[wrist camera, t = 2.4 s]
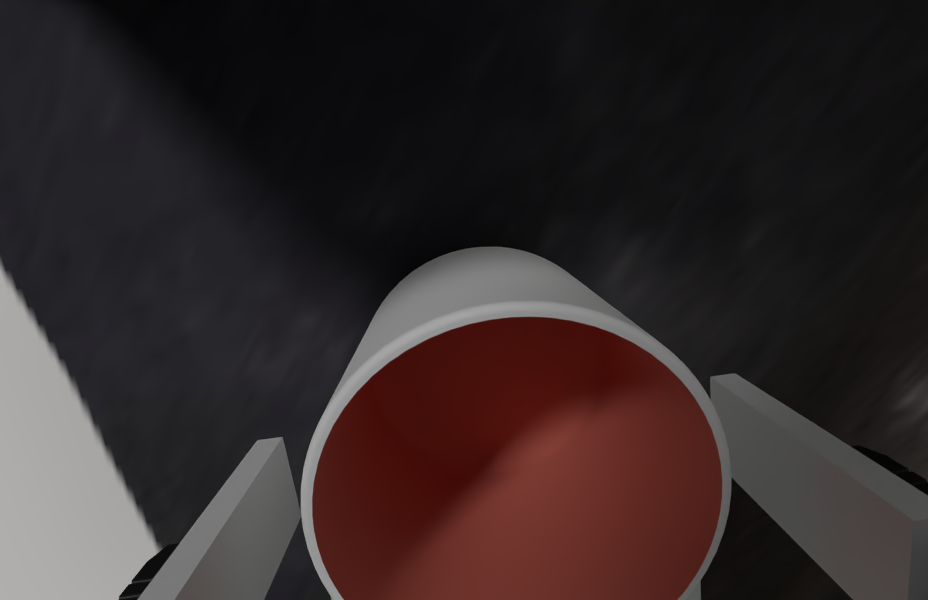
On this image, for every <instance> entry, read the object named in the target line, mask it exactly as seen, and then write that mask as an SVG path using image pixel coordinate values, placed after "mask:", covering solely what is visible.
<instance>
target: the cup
mask: <svg viewBox="0 0 928 600" xmlns="http://www.w3.org/2000/svg"><path fill="white" fill-rule="evenodd" d="M731 475H732V474H731V464H730V455H729V449H728V445H727V440H726V436H725V433H724V430H723V427H722V424H721V421H720V419H719V417H718V414H717V412H716V410H715V408H714V405H713V404H712V402H711V400H710V398H709V397H708V395H707V393H706V391H705V390H704V388H703V387H702V386H701V384H700V383H699V381H698V380H697V379H696V377H695V376H694V375H693V373H692V372H691V371H690V370H689V369H688V368H687V367H686V365H685V364H684V363H683V362H682V361H681V360H680V359H679V358H678V357H677V356H676V355H674V354H673V353H672V352H671V351H670V350H669V349H667V348H666V347H665V346H664V345H662V344H661V343H660V342H659V341H657V340H656V339H655V338H653V337H652V336H651V335H649V334H648V333H647V332H645V331H644V330H643V329H641V328H640V327H639V326H638V325H636V324H635V323H634V322H632V321H631V320H630V319H628V318H627V317H626V316H624V315H623V314H622V313H620V312H619V311H618V310H616V309H615V308H614V307H612V306H611V305H610V304H608V303H607V302H606V301H605V300H603V299H602V298H601V297H599V296H598V295H597V294H595V293H594V292H593V291H591V290H590V289H589V288H587V287H586V286H585V285H583V284H582V283H581V282H580V281H578V280H577V279H576V278H574V277H573V276H572V275H570V274H569V273H568V272H566V271H565V270H564V269H562V268H561V267H559V266H557V265H556V264H554V263H552V262H550V261H548V260H546V259H544V258H542V257H540V256H537V255H535V254H532V253H529V252H526V251H522V250H518V249H513V248H506V247H475V248H467V249H463V250H458V251H454V252H451V253H448V254H445V255H442V256H439V257H437V258H435V259H433V260H431V261H429V262H427V263H425V264H423V265H422V266H420V267H419V268H417V269H416V270H414V271H412V272H411V273H410V274H409V275H408V276H406V277H405V278H404V279H403V280H401V281H400V282H399V283H398V284H397V286H396V287H395V288H394V289H393V290H392V291H391V292H390V293H389V294H388V296H387V297H386V298H385V300H384V301H383V302H382V304H381V305H380V307H379V309H378V310H377V312H376V314H375V315H374V317H373V319H372V321H371V323H370V325H369V327H368V329H367V331H366V333H365V335H364V337H363V338H362V340H361V342H360V344H359V346H358V348H357V350H356V352H355V354H354V356H353V358H352V360H351V362H350V363H349V365H348V367H347V369H346V371H345V373H344V375H343V377H342V379H341V381H340V383H339V385H338V386H337V388H336V390H335V392H334V394H333V396H332V398H331V400H330V402H329V404H328V406H327V408H326V410H325V411H324V413H323V415H322V417H321V419H320V421H319V424H318V426H317V428H316V430H315V432H314V435H313V437H312V440H311V443H310V446H309V449H308V452H307V456H306V460H305V464H304V469H303V476H302V484H301V515H302V524H303V531H304V535H305V539H306V543H307V547H308V550H309V553H310V556H311V558H312V561H313V564H314V567H315V569H316V571H317V573H318V575H319V577H320V579H321V581H322V583H323V584H324V586H325V587H326V589H327V591H328V592H329V594H330V595H331V597H332V598H333V599H334V600H686V599H687V598H688V596H689V595H690V594H691V593H692V592H693V590H694V589H695V588H696V586H697V585H698V583H699V582H700V580H701V579H702V577H703V576H704V574H705V573H706V571H707V569H708V567H709V565H710V563H711V562H712V560H713V558H714V556H715V554H716V552H717V549H718V546H719V544H720V541H721V538H722V536H723V533H724V530H725V526H726V522H727V517H728V513H729V507H730V499H731Z"/></svg>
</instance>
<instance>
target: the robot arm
mask: <svg viewBox="0 0 928 600" xmlns="http://www.w3.org/2000/svg"><path fill="white" fill-rule="evenodd" d="M710 395H711V402H712V404H713V405H714V408H715V410H716V412H717V414H718V417H719V419H720V421H721V424H722V427H723V430H724V433H725V436H726V440H727V445H728V449H729V455H730V464H731V474H732V475H731V477H732V478H733V479H734V480H735V481H736V482H737V483H738V484H739V485H740V486H741V487H742V488H743V489H744V490H745V491H746V492H747V493H748V494H749V495H750V496H751V497H752V498H753V499H754V500H755V501H756V502H757V503H758V505H759V506H760V507H761V508H762V509H763V510H764V511H765V512H766V513H767V514H768V515H769V516H770V517H771V518H772V519H773V520H774V521H775V522H776V523H777V524H778V525H779V526H780V527H781V528H782V529H783V530H784V531H785V532H786V533H787V534H788V535H789V536H790V537H791V538H792V539H793V540H794V541H795V542H796V543H797V544H798V545H799V546H800V547H801V548H802V549H803V550H804V551H805V552H806V553H807V554H808V555H809V556H810V557H811V558H812V559H813V560H814V561H815V562H816V563H817V564H818V565H819V566H820V567H821V568H822V569H823V570H824V571H825V572H826V573H827V574H828V575H829V576H830V577H831V578H832V579H833V580H834V581H835V582H836V583H837V584H838V585H839V586H840V587H841V588H842V589H843V590H844V591H845V592H846V593H847V594H848V595H849V596H850V597H851V598H852V599H853V600H928V483H927V481H926V479H924V478H922V477H921V476H919V475H917V474H916V473H914V472H909V470H908V469H907V468H906V467H904V466H902V465H901V464H899V463H898V462H896V461H894V460H893V459H891V458H889V457H888V456H886V455H883V454H880V453H878V452H875V451H872V450H870V449H867V448H864V447H862V446H852V447H850V446H849V445H847V444H846V443H844V442H843V441H841V440H839V439H838V438H836V437H835V436H833V435H832V434H830V433H828V432H827V431H825V430H824V429H822V428H820V427H819V426H817V425H816V424H814V423H813V422H811V421H809V420H808V419H806V418H805V417H803V416H802V415H800V414H798V413H797V412H795V411H794V410H792V409H791V408H789V407H787V406H786V405H784V404H783V403H781V402H780V401H778V400H776V399H775V398H773V397H772V396H770V395H768V394H767V393H765V392H764V391H762V390H761V389H759V388H757V387H756V386H754V385H753V384H751V383H750V382H748V381H746V380H745V379H743V378H742V377H740V376H739V375H737V374H735V373H733V374H726V375H719V376H712V377H710ZM300 518H301V512H300V508H299V504H298V500H297V496H296V492H295V487H294V483H293V479H292V475H291V471H290V467H289V462H288V458H287V454H286V450H285V446H284V442H283V437H278V438H271V439H264V440H257V442H256V443H255V444H254V446H253V447H252V448H251V449H250V451H249V452H248V453H247V455H246V456H245V457H244V459H243V460H242V461H241V463H240V464H239V465H238V467H237V468H236V469H235V471H234V472H233V473H232V475H231V476H230V477H229V479H228V480H227V481H226V483H225V484H224V485H223V487H222V488H221V489H220V491H219V492H218V493H217V495H216V496H215V497H214V499H213V500H212V501H211V503H210V504H209V505H208V507H207V508H206V509H205V511H204V512H203V513H202V515H201V516H200V517H199V518H198V520H197V521H196V522H195V524H194V525H193V526H192V528H191V529H190V530H189V532H188V533H187V534H186V536H185V537H184V538H183V540H182V541H181V542H180V543H178V544H171V545H167V546H166V547H165V548H164V549H162V550H161V551H160V552H159V553H158V554H156V555H155V556H154V557H153V558H151V559H150V560H149V561H148V562H147V563H146V564H145V565H144V566H143V567H142V569H141V570H140V571H139V572H138V574H137V575H136V576H135V578H134V579H133V580H132V584H129V585H128V586H127V587H126V589H125V590H124V591H123V592H122V594H121V595H120V596H119V600H264V599H265V596H266V594H267V592H268V590H269V587H270V585H271V583H272V581H273V578H274V576H275V574H276V572H277V569H278V567H279V565H280V563H281V560H282V558H283V556H284V554H285V551H286V549H287V547H288V545H289V542H290V540H291V538H292V536H293V533H294V531H295V529H296V527H297V524H298V522H299V520H300Z"/></svg>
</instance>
